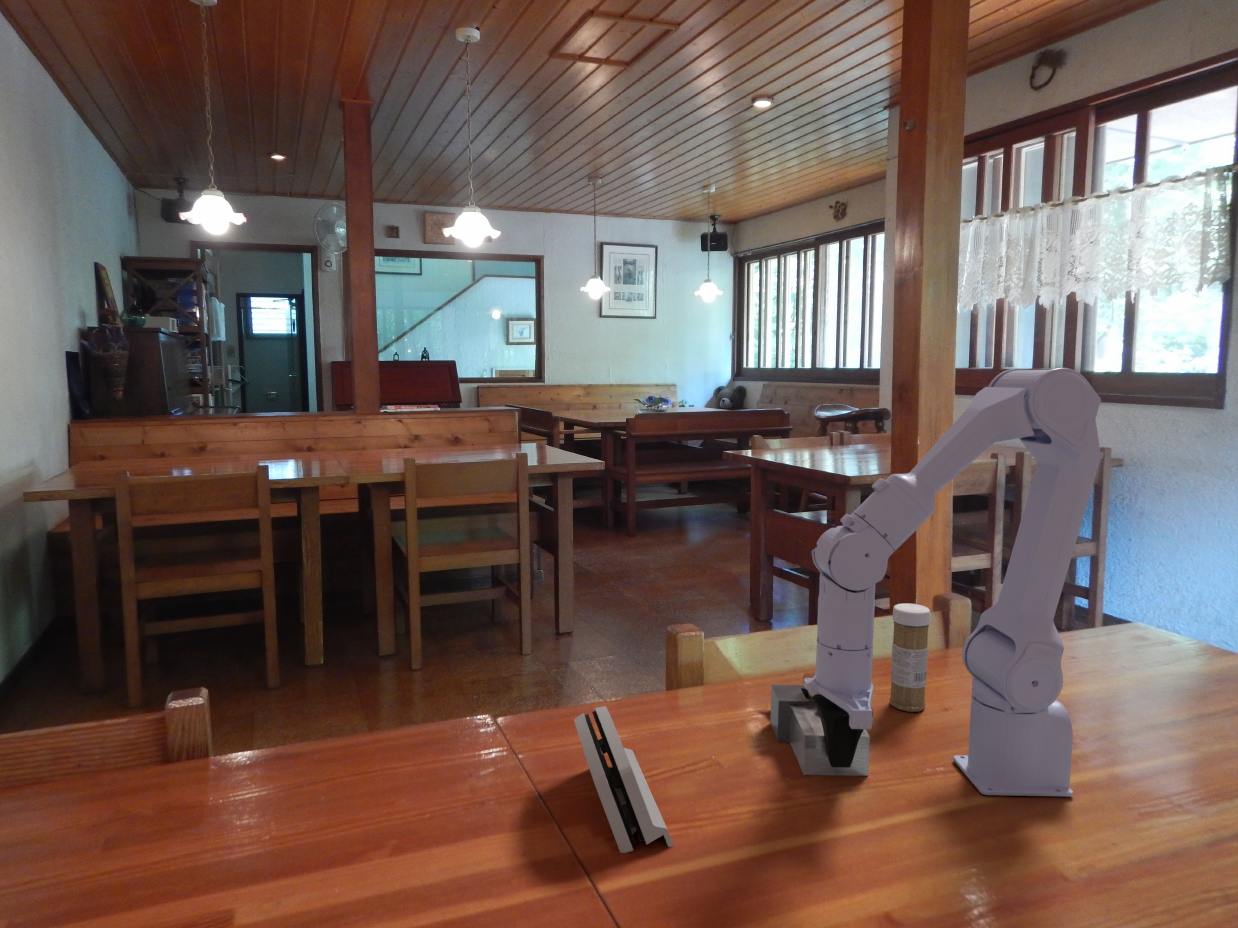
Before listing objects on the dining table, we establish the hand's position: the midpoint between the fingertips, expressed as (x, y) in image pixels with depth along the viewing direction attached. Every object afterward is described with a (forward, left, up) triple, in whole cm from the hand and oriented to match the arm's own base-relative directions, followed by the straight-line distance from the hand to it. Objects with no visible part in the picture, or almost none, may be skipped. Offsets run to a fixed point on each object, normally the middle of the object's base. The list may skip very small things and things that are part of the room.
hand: (839, 764), depth 86 cm
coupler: (0, -12, -2) cm, 12 cm away
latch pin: (0, -12, +1) cm, 12 cm away
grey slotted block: (+24, +5, -2) cm, 25 cm away
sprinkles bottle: (-14, -20, -2) cm, 25 cm away
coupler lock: (0, -5, -2) cm, 6 cm away
